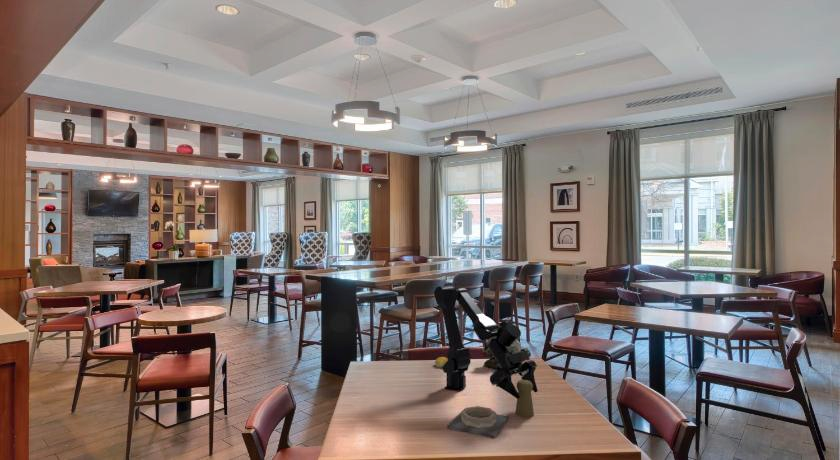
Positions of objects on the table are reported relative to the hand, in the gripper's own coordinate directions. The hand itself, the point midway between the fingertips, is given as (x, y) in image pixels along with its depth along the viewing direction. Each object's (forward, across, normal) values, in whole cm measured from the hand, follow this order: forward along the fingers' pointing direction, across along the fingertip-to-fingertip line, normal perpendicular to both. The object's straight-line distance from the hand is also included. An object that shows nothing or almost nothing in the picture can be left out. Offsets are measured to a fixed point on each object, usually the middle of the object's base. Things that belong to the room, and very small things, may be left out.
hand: (527, 394), depth 154 cm
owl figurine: (-25, +36, +35) cm, 56 cm away
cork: (+4, 0, +6) cm, 7 cm away
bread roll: (-36, +16, +46) cm, 61 cm away
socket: (+1, -17, +9) cm, 19 cm away
